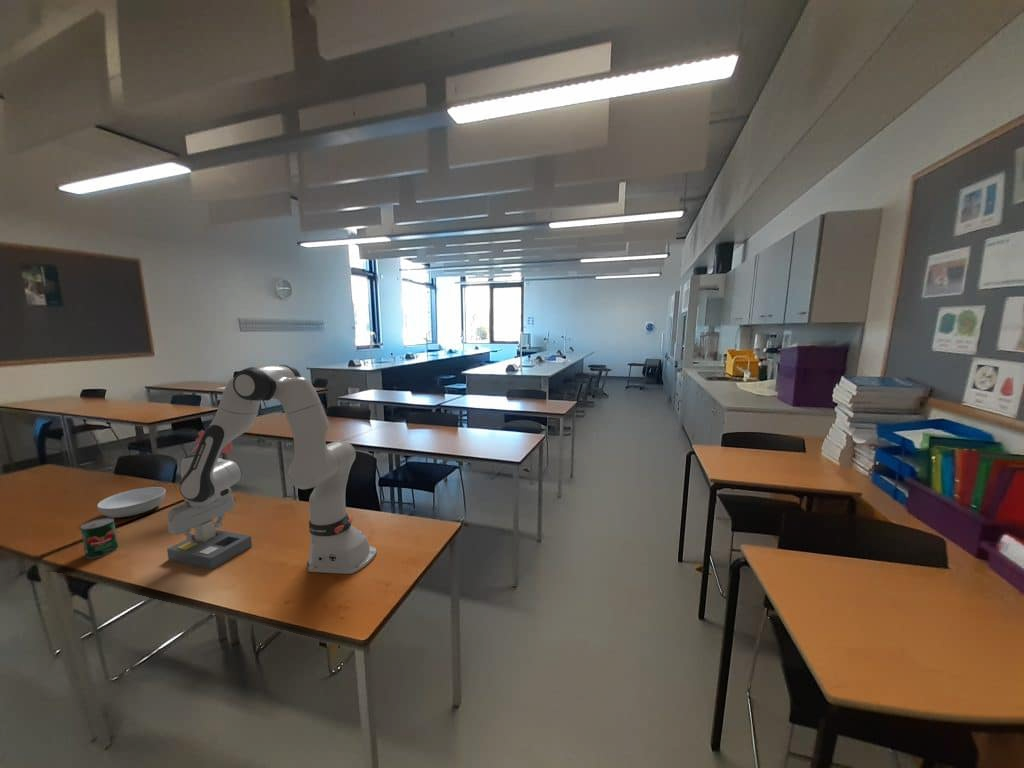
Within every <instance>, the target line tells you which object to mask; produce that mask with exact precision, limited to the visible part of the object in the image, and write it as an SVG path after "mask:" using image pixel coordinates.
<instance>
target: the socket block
mask: <svg viewBox="0 0 1024 768" xmlns="http://www.w3.org/2000/svg"><path fill="white" fill-rule="evenodd" d="M215 534H216V536H215V537H213V538H211V539H209V540H207V541H205V542H199V541H196V538H195V539H194V540H192V541H187V539H185V540H183V541H181V542H178V543H177V544H174V545H172V546H170V547H168V548H166V550H167V559H168V561H172V562H177V563H181V564H185V565H190V566H194V567H198V568H199V567H200V568H203V569H208V570H210V571H211V570H212V571H213V570H214V569H216V568H218V567H219V566H221V565H223V564H225V563H226V562H228V561H229V560H232V558H235V557H236V556H238V555H240V554H242V553H244V552H245V551H247V550H248V549H250V548H252V547H253V543H252V536H251V535H248V534H247V535H246V534H241V533H237V532H231V531H227V530H220V529H216V528H215Z"/></svg>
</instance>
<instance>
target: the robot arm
mask: <svg viewBox="0 0 1024 768" xmlns="http://www.w3.org/2000/svg"><path fill="white" fill-rule="evenodd" d="M271 399H274V400H277V401H279V403H280V404H281V406H282V408H283V411H284V414H285V417H286V420H287V423H288V425H289V428H290V431H291V434H292V437H293V443H294V444H293V445H294V446H293V447H294V448H293V451H294V452H293V458H292V462H291V463H290V465H289V468H288V473H287V475H288V479H289V481H290V483H291V484H292V485H293V486H294V487H296V488H297V489H300V490H308V489H312V488H313V490H312V492H311V493H310V495H309V499H308V506H309V508H308V509H309V510H308V511H309V521H308V529H309V533H310V543H309V544H310V545H309V554H308V558H307V563H308V567H307V568H308V569H307V571H308V572H309V573H326V574H345V575H350V574H351V575H352V574H354V573H356V572H358V571H361V569H363V568H364V567H366V566H367V565H368V564H369V563H371V561H372V560H373V559H374V558H375V557H376V555H377V552H378V551H377V548H376V547H375V546H371V545H370V543H369V540H368V537H367V536H366V535H365V534H364V533H363V531H361V530H359V529H357V528H356V527H355V526H353V525H352V522H353V521H354V517H351V518H350V517H349V514H348V513H347V511H346V509H347V506H346V505H347V504H346V488H347V484H348V480H349V474H350V471H351V468H352V465H353V463H354V462H355V460H356V457H357V456H356V455H357V453H356V449H355V448H354V447H355V446H353V445H352V444H351V443H349V442H348V441H345V440H340V441H333V442H330V443H326V442H327V440H326V439H327V438H326V436H327V432H328V430H329V427H330V422H329V420H328V417H327V413H326V412H325V409H324V406H323V404H322V401H321V399H320V396H319V395H318V393H317V391H316V389H315V387H314V385H313V384H312V382H311V381H310V379H308V378H307V377H303V376H302V375H301V373H300V372H299V370H297V369H296V368H295V367H293V366H290V365H286V364H279V365H271V364H270V365H269V364H267V365H260V366H255V367H253V366H252V367H251V366H250V367H246V368H244V369H241V370H240V371H238V372H237V373H236V374H235V375H234V377H232V378H231V379H229V380H228V381H227V384H226V386H225V387H224V389H223V392H222V394H221V397H220V401H219V403H218V407H217V411H216V413H215V415H214V418H213V419H212V421H211V423H210V424H209V426H208V427H207V429H206V430H204V431H205V433H204V434H203V436H202V438H201V441H200V443H199V446H198V448H197V449H196V451H195V452H192V453H190V454H188V455H186V456H184V457H182V460H181V462H180V475H181V479H180V482H179V483H180V484H179V492H180V495H181V496H182V497H183V499H184V503H182V504H179V505H176V506H173V507H172V508H171V509H170V510H169V511H168V513H167V520H168V521H167V531H168V533H169V534H171V535H175V536H178V535H181V534H182V535H184V537H186V540H187V541H192V540H194V539H195V533H194V534H193V533H191V531H192V529H194V527H196V526H198V525H200V524H203V523H205V522H207V521H209V520H211V519H212V520H214V519H215V518H217V520H216V522H215V521H214V525H215V528H217V529H218V528H221V527H223V521H224V518H225V514H226V513H229V512H231V511H233V510H234V508H235V500H234V499H233V495H232V494H231V491H232V488H231V487H232V486H235V485H236V484H237V483H239V482H240V480H241V479H242V474H243V472H242V468H241V466H240V464H239V463H237V461H235V460H232V459H224V458H221V457H220V455H221V453H222V452H221V451H223V448H224V447H225V446H226V445H227V444H228V443H229V442H231V443H232V441H233V440H235V439H236V438H238V437H240V436H242V435H243V434H244V433H246V432H248V431H249V430H250V429H251V428H252V427H253V425H254V423H255V421H256V420H257V417H258V413H259V410H260V409H259V408H260V405H261V402H262V401H265V402H266V401H267V402H269V401H270V400H271Z"/></svg>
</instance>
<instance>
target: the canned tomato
mask: <svg viewBox="0 0 1024 768" xmlns="http://www.w3.org/2000/svg"><path fill="white" fill-rule="evenodd" d="M114 518H115V517H102V518H98V519H93V520H91V521H88V522H86V523H84V524H82V525H81V526H80V531H81V532H80V533H81V537H82V542H83V543H82V544H83V548H84V549H83V550H84V553H85V558H87V559H96V558H101V557H104V556H107V555H109V554H112V553H114V552H115V551H117V550H118V549H119V543H118V538H117V531H116V525H115V524H116V523H115V519H114Z"/></svg>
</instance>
